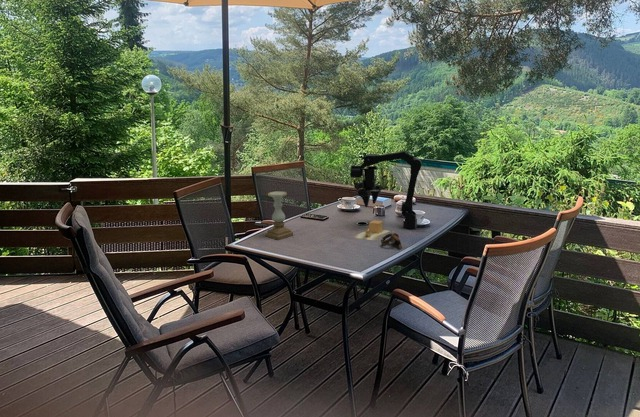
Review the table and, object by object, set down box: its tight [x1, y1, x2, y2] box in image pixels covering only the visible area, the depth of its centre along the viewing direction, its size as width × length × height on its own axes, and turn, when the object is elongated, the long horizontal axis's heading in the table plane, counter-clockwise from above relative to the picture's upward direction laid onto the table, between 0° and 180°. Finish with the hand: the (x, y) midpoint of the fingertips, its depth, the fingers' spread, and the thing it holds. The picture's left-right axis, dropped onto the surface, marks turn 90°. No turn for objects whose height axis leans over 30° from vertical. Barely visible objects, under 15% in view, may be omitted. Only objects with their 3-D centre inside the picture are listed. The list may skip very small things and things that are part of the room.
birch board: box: [352, 227, 391, 242], centre depth 258 cm, size 13×20×1 cm, turn 149°
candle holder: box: [265, 190, 294, 241], centre depth 260 cm, size 11×11×24 cm
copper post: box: [364, 228, 370, 237], centre depth 254 cm, size 3×3×4 cm
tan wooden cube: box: [368, 219, 384, 234], centre depth 262 cm, size 5×5×6 cm
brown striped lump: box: [380, 232, 403, 250], centre depth 239 cm, size 12×10×8 cm
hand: (370, 205), depth 270 cm, fingers open, 9 cm apart
